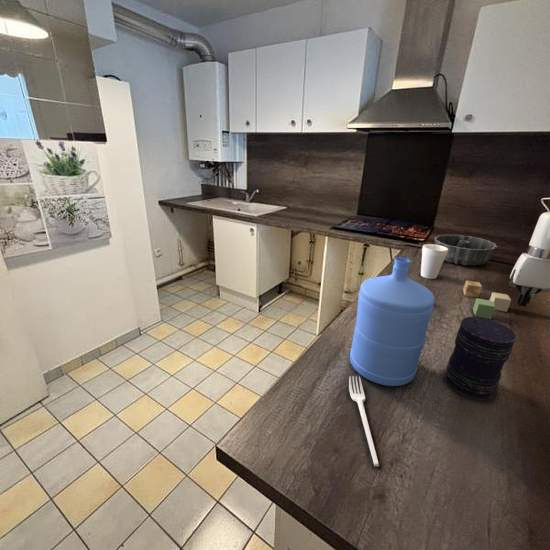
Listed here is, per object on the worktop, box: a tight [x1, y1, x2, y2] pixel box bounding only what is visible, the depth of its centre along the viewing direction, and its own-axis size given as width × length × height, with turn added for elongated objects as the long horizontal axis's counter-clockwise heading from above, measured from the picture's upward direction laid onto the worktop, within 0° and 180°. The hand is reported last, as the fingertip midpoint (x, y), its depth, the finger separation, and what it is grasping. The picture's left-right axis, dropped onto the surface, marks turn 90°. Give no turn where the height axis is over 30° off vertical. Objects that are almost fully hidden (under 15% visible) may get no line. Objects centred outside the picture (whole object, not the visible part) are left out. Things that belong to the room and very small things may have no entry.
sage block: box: [472, 297, 496, 320], centre depth 96 cm, size 4×4×4 cm
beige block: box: [489, 292, 512, 313], centre depth 100 cm, size 4×4×4 cm
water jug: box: [349, 256, 435, 387], centre depth 67 cm, size 16×16×28 cm
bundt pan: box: [434, 234, 498, 267], centre depth 145 cm, size 26×26×10 cm
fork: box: [348, 375, 380, 468], centre depth 58 cm, size 3×20×2 cm, turn 177°
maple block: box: [462, 280, 483, 299], centre depth 110 cm, size 4×4×4 cm
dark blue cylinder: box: [444, 316, 517, 401], centre depth 64 cm, size 10×10×15 cm
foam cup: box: [420, 243, 448, 280], centre depth 124 cm, size 10×9×13 cm
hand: (521, 304), depth 98 cm, fingers closed
